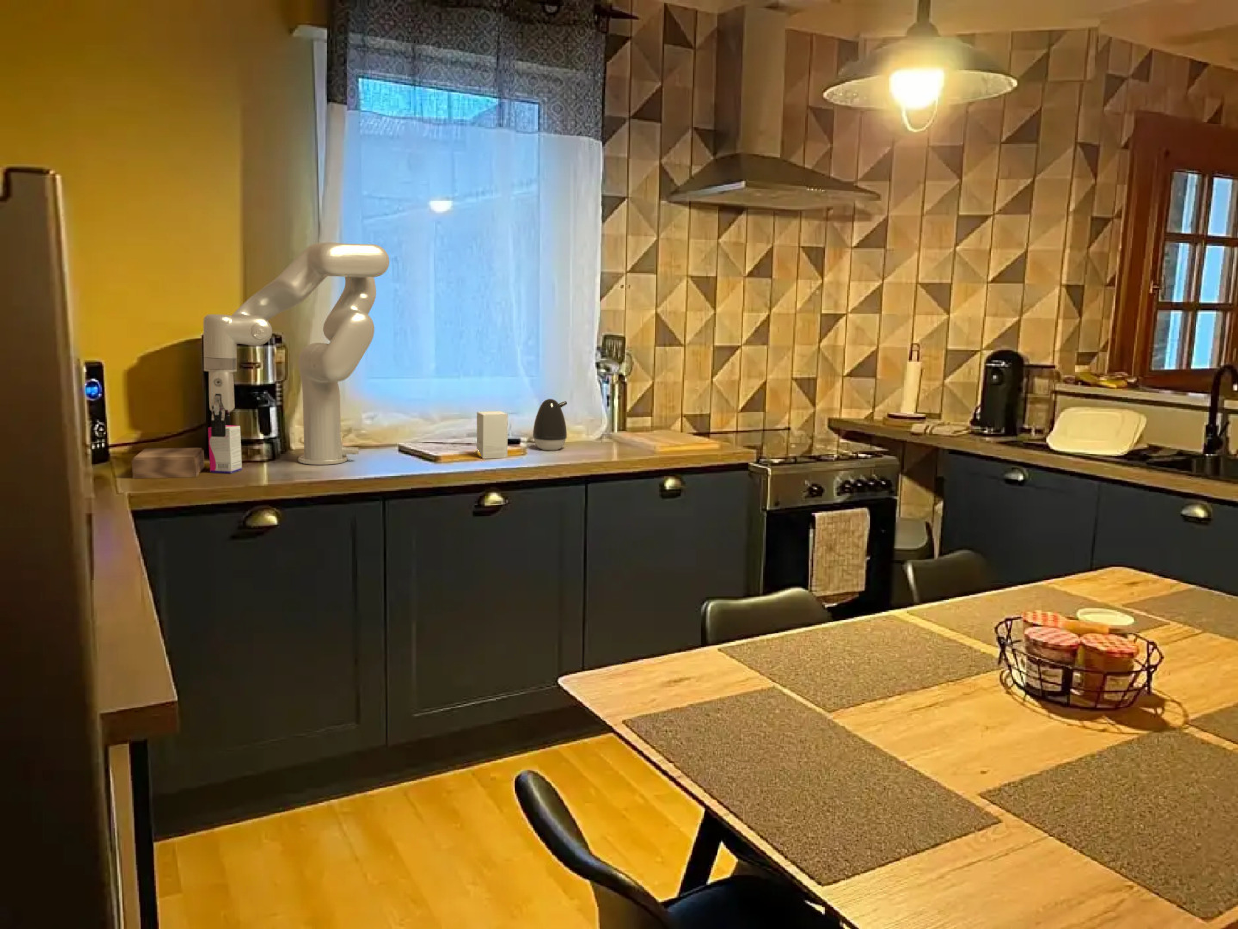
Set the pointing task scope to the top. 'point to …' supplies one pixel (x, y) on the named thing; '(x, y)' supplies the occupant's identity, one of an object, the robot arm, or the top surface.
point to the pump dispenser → (550, 426)
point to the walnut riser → (168, 463)
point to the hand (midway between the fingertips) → (221, 434)
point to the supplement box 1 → (225, 451)
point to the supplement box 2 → (492, 434)
